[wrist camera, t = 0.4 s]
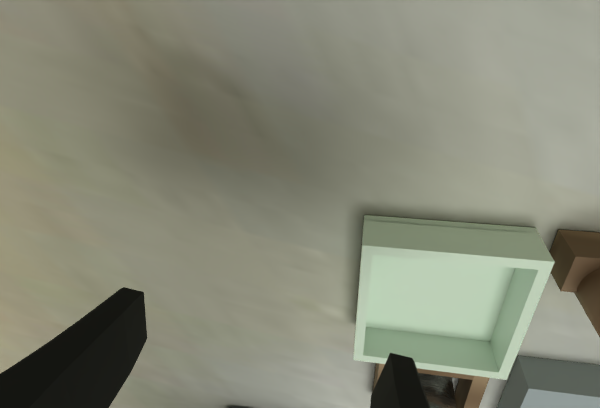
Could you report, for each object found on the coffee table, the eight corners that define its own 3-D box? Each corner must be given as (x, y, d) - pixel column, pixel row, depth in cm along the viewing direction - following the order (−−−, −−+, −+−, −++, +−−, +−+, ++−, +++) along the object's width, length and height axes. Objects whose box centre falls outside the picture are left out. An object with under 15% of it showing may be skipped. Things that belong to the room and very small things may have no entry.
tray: (495, 341, 23) (506, 379, 21) (355, 325, 24) (353, 360, 22) (535, 227, 19) (554, 261, 17) (364, 214, 20) (362, 245, 18)
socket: (464, 405, 27) (469, 433, 25) (372, 393, 28) (372, 418, 26) (484, 346, 24) (491, 372, 22) (380, 333, 24) (380, 358, 23)
